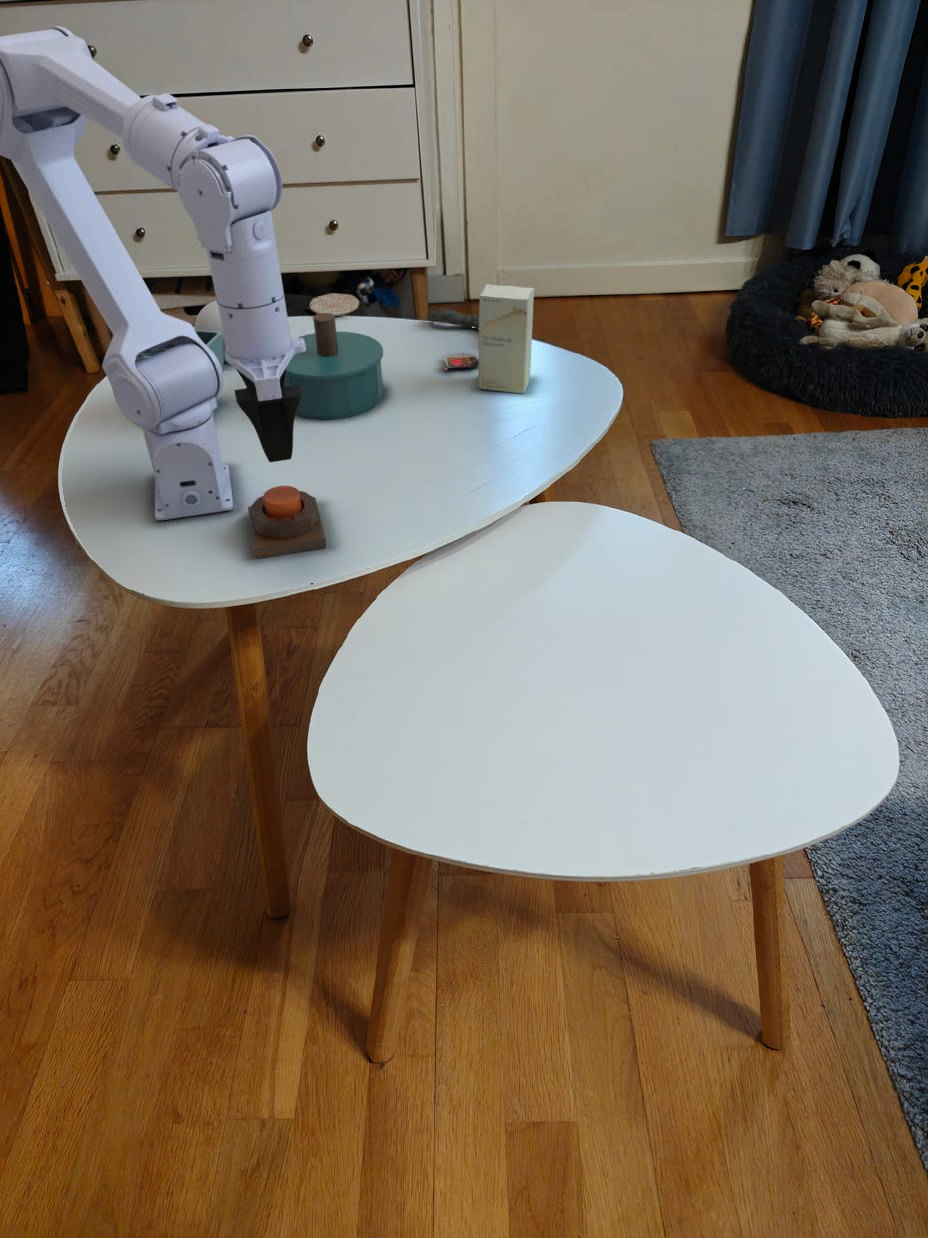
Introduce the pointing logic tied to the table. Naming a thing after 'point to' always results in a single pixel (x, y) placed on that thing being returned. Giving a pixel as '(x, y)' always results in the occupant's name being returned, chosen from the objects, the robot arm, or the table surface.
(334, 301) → the flatbread
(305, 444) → the table surface
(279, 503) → the button
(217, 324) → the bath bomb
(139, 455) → the table surface
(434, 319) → the toy
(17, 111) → the robot arm
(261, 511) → the button block
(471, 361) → the matchbox
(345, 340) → the tin lid
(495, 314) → the cosmetic box
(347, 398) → the tin
